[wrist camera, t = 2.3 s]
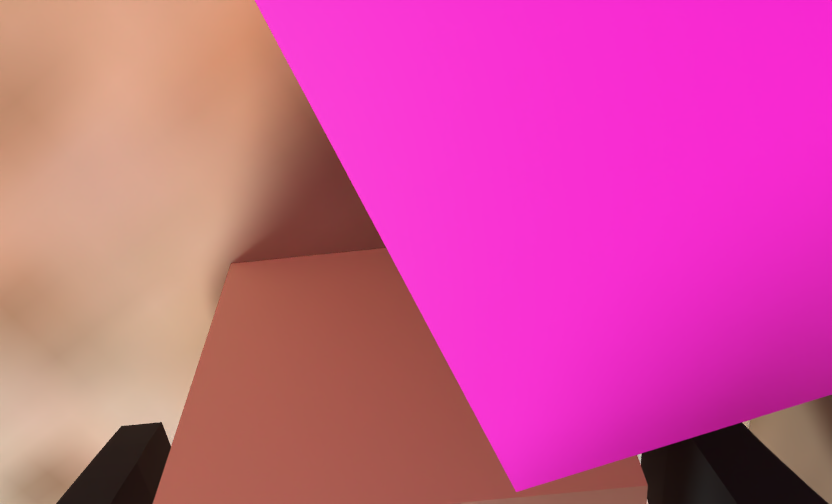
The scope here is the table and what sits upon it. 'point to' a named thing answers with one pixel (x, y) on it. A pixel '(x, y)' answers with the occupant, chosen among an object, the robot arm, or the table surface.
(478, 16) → the toy block
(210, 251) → the table surface
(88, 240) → the table surface
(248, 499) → the terracotta cube
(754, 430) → the taupe block
